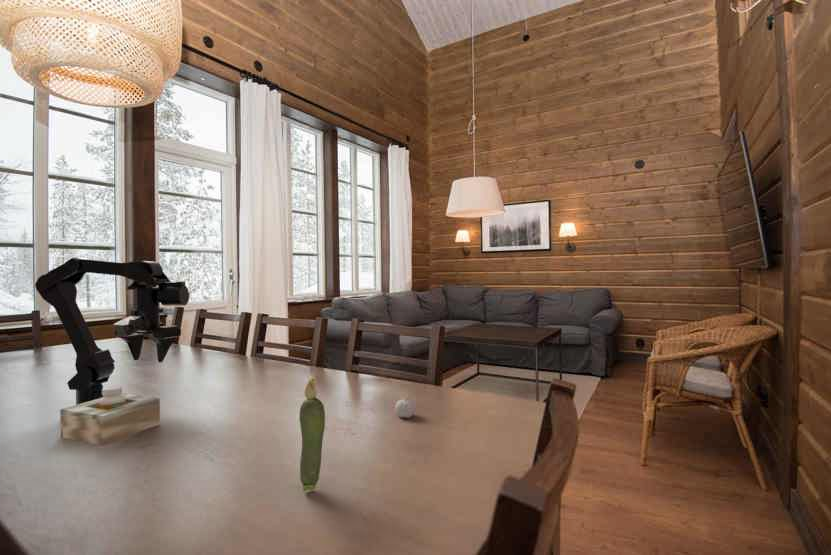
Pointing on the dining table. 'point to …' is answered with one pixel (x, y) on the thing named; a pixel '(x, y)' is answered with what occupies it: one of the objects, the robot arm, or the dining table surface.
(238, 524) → the dining table surface
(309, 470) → the vegetable
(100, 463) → the dining table surface
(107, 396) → the supplement bottle
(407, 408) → the garlic
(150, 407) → the crate
